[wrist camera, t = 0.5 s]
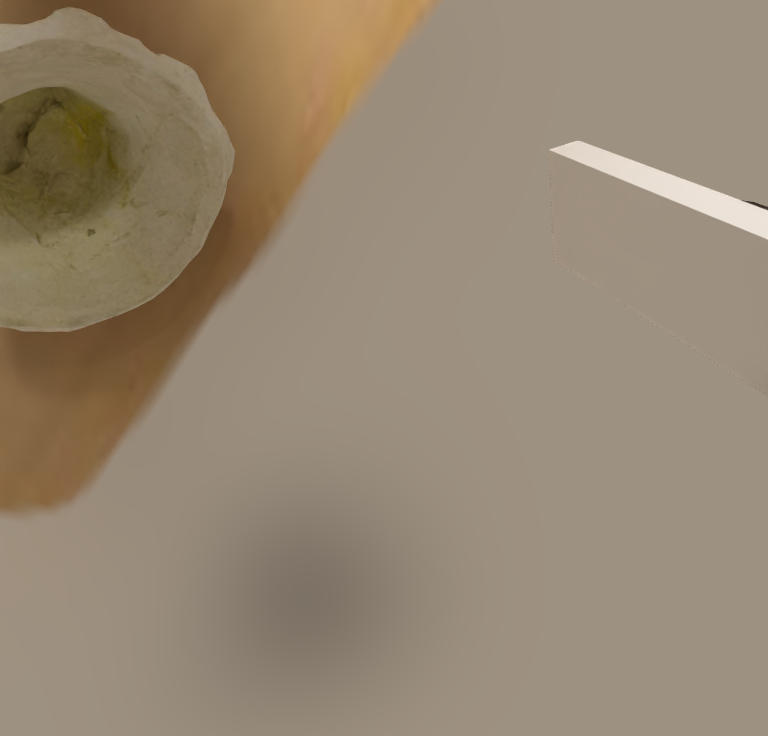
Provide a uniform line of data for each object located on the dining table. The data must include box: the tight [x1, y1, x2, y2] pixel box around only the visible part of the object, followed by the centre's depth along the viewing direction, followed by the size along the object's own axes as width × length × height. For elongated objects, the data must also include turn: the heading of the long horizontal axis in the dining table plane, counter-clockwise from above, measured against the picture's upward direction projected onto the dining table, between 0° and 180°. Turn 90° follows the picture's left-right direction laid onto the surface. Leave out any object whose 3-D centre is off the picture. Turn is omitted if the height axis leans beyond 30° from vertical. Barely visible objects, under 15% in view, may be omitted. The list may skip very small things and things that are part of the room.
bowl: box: [0, 7, 235, 332], centre depth 33 cm, size 15×14×10 cm
